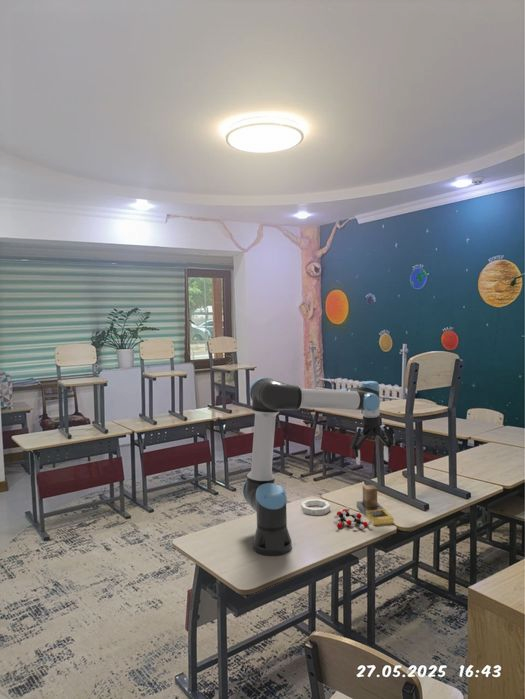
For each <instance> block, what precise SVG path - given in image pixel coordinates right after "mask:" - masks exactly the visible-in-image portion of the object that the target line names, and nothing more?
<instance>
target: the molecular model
mask: <svg viewBox="0 0 525 699" xmlns="http://www.w3.org/2000/svg"><path fill="white" fill-rule="evenodd" d="M333 517H334V518H335V520H333V523H334V525H336V526H337V528H338V529H342V528H343V525H344V523H345V522H346V525H347V526H349V527H350V526H355V524H357V525H359V526H360V528H361V529H362V530H363V529H365V528H368V527H369V526H371V525H372V523H371V522H370V521H369V520H368V521H364V522H363V520H361V519H362V513H361V512H358V511H357V512H353V513H352V514H350V507H346V508H344V509H342V510H341V511H337V513H336V514H334V516H333ZM349 517H352V518H353V520H350V519H348V520H346V518H349ZM338 518H340V522H338V520H337V519H338Z"/></svg>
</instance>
